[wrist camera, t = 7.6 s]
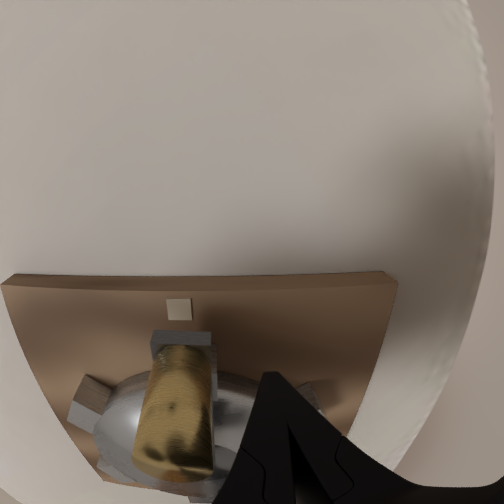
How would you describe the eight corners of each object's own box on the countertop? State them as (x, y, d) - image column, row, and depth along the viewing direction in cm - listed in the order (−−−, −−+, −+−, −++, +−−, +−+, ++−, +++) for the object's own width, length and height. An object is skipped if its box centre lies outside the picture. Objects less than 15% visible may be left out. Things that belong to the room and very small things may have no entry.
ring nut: (350, 301, 12) (438, 408, 6) (292, 477, 17) (310, 544, 11) (43, 292, 10) (-42, 384, 4) (120, 473, 15) (109, 539, 9)
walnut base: (319, 468, 20) (324, 481, 18) (106, 468, 18) (103, 481, 16) (383, 271, 14) (399, 283, 12) (14, 273, 11) (-2, 285, 10)
